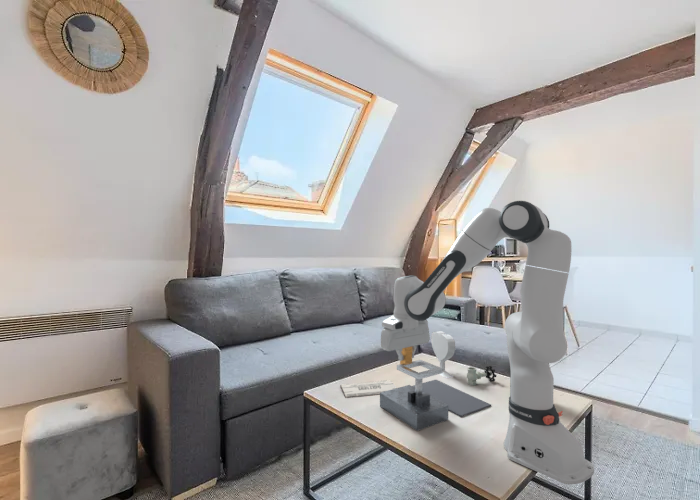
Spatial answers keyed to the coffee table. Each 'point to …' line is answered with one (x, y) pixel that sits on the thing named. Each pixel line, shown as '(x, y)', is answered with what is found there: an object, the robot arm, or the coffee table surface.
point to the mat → (454, 398)
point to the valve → (479, 375)
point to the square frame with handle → (408, 364)
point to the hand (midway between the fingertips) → (406, 359)
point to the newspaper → (367, 388)
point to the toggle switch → (414, 406)
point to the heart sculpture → (443, 349)
